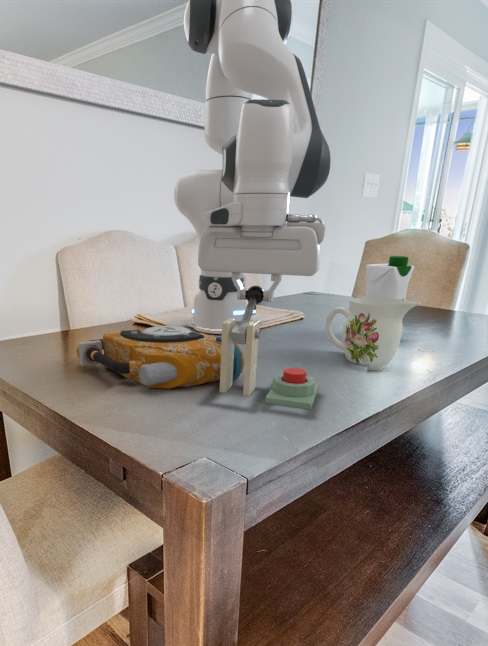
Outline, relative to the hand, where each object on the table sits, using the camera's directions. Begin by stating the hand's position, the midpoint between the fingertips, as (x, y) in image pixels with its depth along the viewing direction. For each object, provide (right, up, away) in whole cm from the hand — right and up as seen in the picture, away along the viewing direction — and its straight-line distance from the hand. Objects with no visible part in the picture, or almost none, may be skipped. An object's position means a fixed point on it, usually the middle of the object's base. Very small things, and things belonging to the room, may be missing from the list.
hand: (254, 300), depth 80 cm
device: (-18, -13, +9) cm, 24 cm away
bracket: (-3, -17, -2) cm, 17 cm away
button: (+5, -14, -6) cm, 16 cm away
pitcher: (+25, -10, +16) cm, 31 cm away
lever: (-1, -4, -2) cm, 5 cm away
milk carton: (+37, -2, +36) cm, 52 cm away
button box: (+5, -18, -4) cm, 19 cm away
